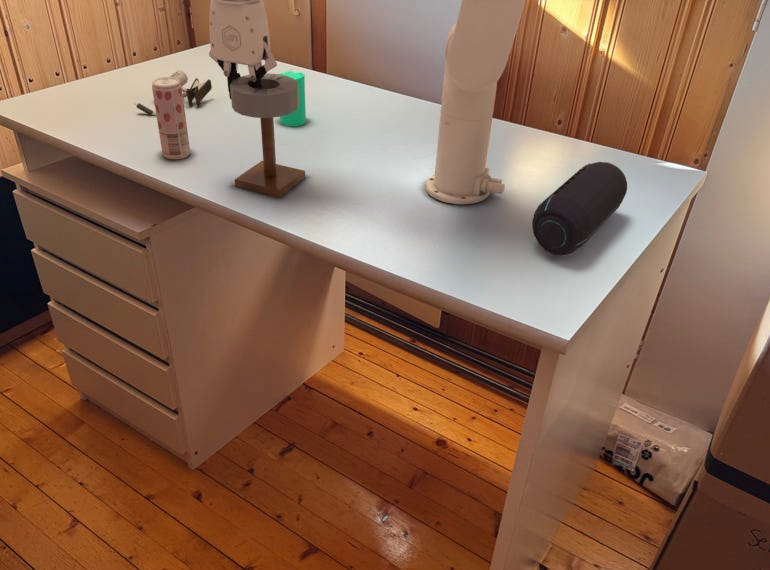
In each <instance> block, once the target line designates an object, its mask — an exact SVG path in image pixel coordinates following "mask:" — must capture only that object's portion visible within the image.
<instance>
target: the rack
mask: <svg viewBox="0 0 770 570" xmlns="http://www.w3.org/2000/svg"><path fill="white" fill-rule="evenodd" d="M259 119H260V120H259V121H260V133H261V134H260V135H261V148H262V149H261V150H262V160H260V161H259V162H258V163H256V164H255V165H253V166H252V167H251V168H249V169H247V170H246V171H245V172H243V173H242V174H240V175H238V176H237V177H236V178H234V187H236V188H240V189H244V190H248V191H253V192H256V193H259V194H265V195H268V196H273V197H276V198H281V197H282V196H284V195H285V194H286V193H287V192H289V191H290V190H292V189H293V188H294V187H295V186H296V185H298V184H299V183H300V182H301V181H303V180H304V179H306V170H304V169H299V168H297V167H296V168H295V167H291V166H287V165H282V164H278V163H277V159H276V158H277V157H276V142H275V141H276V140H275V123H274V122H275V120H274V117H273V118H259Z"/></svg>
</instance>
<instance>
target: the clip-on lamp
mask: <svg viewBox="0 0 770 570" xmlns="http://www.w3.org/2000/svg"><path fill="white" fill-rule="evenodd" d="M168 77H173V78H177V79H179V81H180V84H181V87H182V95H183V97H186V98H187V103H188V106H189V107H192V106H193V104H194V103H193V101H195V103H196V107H197V108H200V107H201V105H202V104H201V103H202V102H201V101H202V100H203V99H204V98H205V97H206V96H207V95H208V94H209V93H210V92H211V91H212V89H213V84H212V80H211V79H207V80H206V81H204V82H201V83H200V81H199V78H198V77H197V78H194V80H193V82H192V84H191V86H190V88H186V87H183V86H185V85H186V84H187V83H188V81H189V79H188V78H189V77H188V75H187V74H186V72H185V71H183V70H180V69H179V70H176V71H175V72H173V73H172V74H171V75H169V76H168ZM194 99H195V100H194ZM133 105H135V107H136V108H137V109H138V110H140V111H142V112H144V113H145V114H147V115H149V116H152V115H153V116H156V113H155V112H154V110H152V109H150V108H148V107H147V106H146V105H145V106H144V105H143V104H142V103H140V102H138V103H136V102H134V103H133Z"/></svg>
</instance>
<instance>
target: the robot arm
mask: <svg viewBox="0 0 770 570" xmlns="http://www.w3.org/2000/svg"><path fill="white" fill-rule="evenodd" d="M525 4H526V0H461V4H460V7H459V11H458V15H457V19H456V22H455V23H454V24H453V25H452V27H451V29H450V30H449V33H448V35H447V38H446V43H445V50H444V51H445V53H444V69H443V82H442V83H443V84H442V92H441V93H442V94H441V106H440V115H439V125H438V136H437V146H436V157H435V167H434V174H432V175H431V176H430V177H428V178H427V180H426V181H425V191H426V193H427V194H428V195H429V196H430V197H432V198H433V199H435V200H437V201H439V202H443V203H447V204H453V205H472V204H477V203H481V202H483V201H485V200H486V199H487V198H488V197H489V196H490V194H491V192H492V193H493V194H497V195H503V194H504V192H505V187H506V184H505V183H503V179H502V178H497V177H492V176H491V175H489V174H490V168H488V167H486V165H487V161H488V160H487V159H488V152H489V145H490V139H491V138H490V137H491V130H492V123H493V116H494V110H495V102H496V96H497V95H496V94H497V88H498V81H499V80H500V78H501V77H502V75H503V74H504V71H505V68H506V66H507V63H508V60H509V57H510V54H511V52H512V48H513V45H514V41H515V39H516V38H515V37H516V35H517V31H518V28H519V25H520V21H521V17H522V15H523V12H524V9H525ZM208 21H209V22H208V23H209V24H208V25H209V45H210V50H209V52H208V56H209V57H210V58H211V59H212V60H213V61H214V62H215V63H217V65H218V66H219V68H220V69H221V70H222V72H223V76H224V77H226V80H227V90H228V95H229V100H231V91H230V84H231V82H232V81H233V80H234V79H236V78H238V77H241V73H240V72H238V69H239V68H238V67H239V65H243V66H244V65H245V66H247V69H248V75H250V79H251V81H249V82H248V85H249V86H250V87H252V88H256V89H262V84H261V78H263V77H264V75H265V74H266V73H268V72H269V71H271V70H273V69H275V68H276V67H277V66H278V63H277V61H276V59H275V57H274V55H273V53H272V50H271V48H272V47H271V36H270V27H269V21H268V15H267V11H266V7H265V3H264V0H210V5H209V19H208ZM262 61H264V64H263V63H262Z"/></svg>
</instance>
